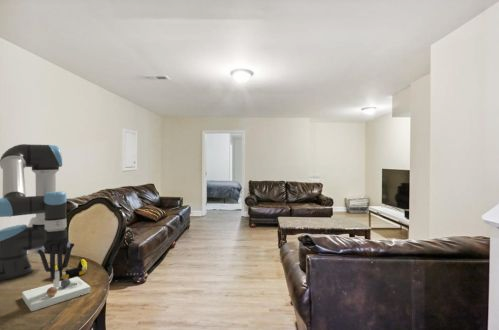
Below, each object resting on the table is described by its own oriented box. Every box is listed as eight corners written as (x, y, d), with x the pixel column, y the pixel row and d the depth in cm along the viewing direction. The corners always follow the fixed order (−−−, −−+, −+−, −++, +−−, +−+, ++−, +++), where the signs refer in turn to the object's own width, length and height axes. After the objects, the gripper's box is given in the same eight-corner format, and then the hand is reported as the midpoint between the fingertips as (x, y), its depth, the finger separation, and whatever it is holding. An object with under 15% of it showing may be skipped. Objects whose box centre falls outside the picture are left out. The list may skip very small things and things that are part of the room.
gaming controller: (50, 277, 134) (55, 282, 127) (50, 265, 134) (55, 270, 127) (85, 268, 145) (91, 273, 138) (85, 257, 145) (91, 262, 138)
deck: (22, 297, 113) (22, 291, 113) (77, 282, 128) (77, 276, 128) (31, 311, 102) (31, 304, 102) (90, 292, 117) (90, 286, 117)
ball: (68, 284, 119) (59, 287, 117) (68, 276, 120) (59, 278, 117) (71, 286, 117) (61, 289, 115) (71, 278, 117) (62, 280, 115)
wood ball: (45, 296, 109) (45, 287, 109) (55, 293, 111) (55, 284, 111) (47, 298, 107) (47, 289, 107) (58, 295, 109) (58, 286, 109)
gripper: (38, 233, 107) (39, 294, 107) (76, 227, 117) (77, 283, 117) (34, 230, 112) (34, 289, 112) (71, 225, 122) (71, 278, 122)
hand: (56, 286), depth 115 cm, fingers closed
